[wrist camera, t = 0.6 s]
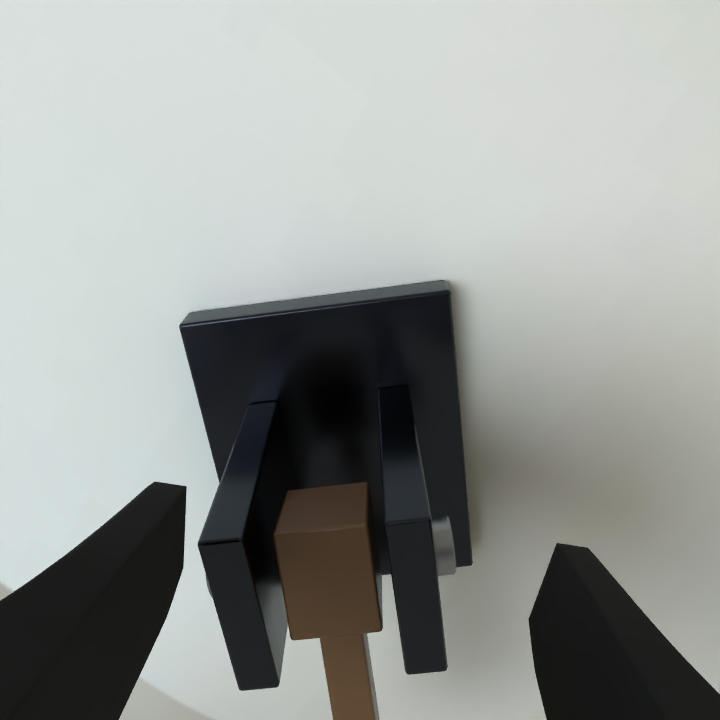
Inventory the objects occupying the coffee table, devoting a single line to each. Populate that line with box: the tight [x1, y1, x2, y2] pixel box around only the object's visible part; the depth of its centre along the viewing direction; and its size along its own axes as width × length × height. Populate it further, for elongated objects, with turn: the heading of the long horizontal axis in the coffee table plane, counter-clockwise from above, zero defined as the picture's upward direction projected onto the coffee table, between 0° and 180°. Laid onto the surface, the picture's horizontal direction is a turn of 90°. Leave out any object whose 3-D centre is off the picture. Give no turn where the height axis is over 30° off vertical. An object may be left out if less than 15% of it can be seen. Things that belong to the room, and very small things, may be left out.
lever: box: [273, 482, 383, 720], centre depth 17 cm, size 11×3×3 cm, turn 8°
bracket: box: [179, 280, 473, 691], centre depth 18 cm, size 10×8×8 cm
